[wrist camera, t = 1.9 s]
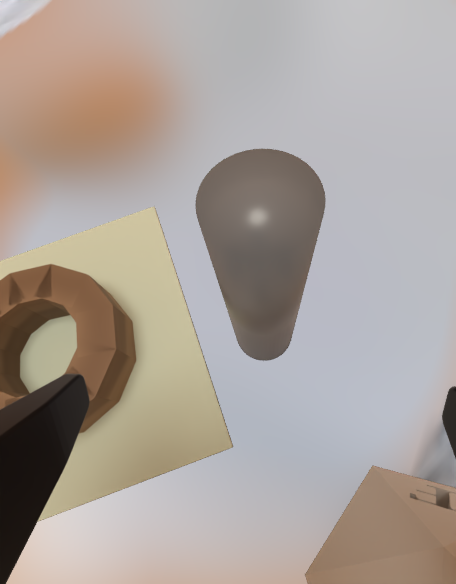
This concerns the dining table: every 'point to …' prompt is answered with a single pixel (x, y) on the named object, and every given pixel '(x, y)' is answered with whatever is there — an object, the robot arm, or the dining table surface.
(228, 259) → the grey rounded peg
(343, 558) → the die
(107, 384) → the bead
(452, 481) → the dining table surface
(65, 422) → the robot arm
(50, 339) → the mat
